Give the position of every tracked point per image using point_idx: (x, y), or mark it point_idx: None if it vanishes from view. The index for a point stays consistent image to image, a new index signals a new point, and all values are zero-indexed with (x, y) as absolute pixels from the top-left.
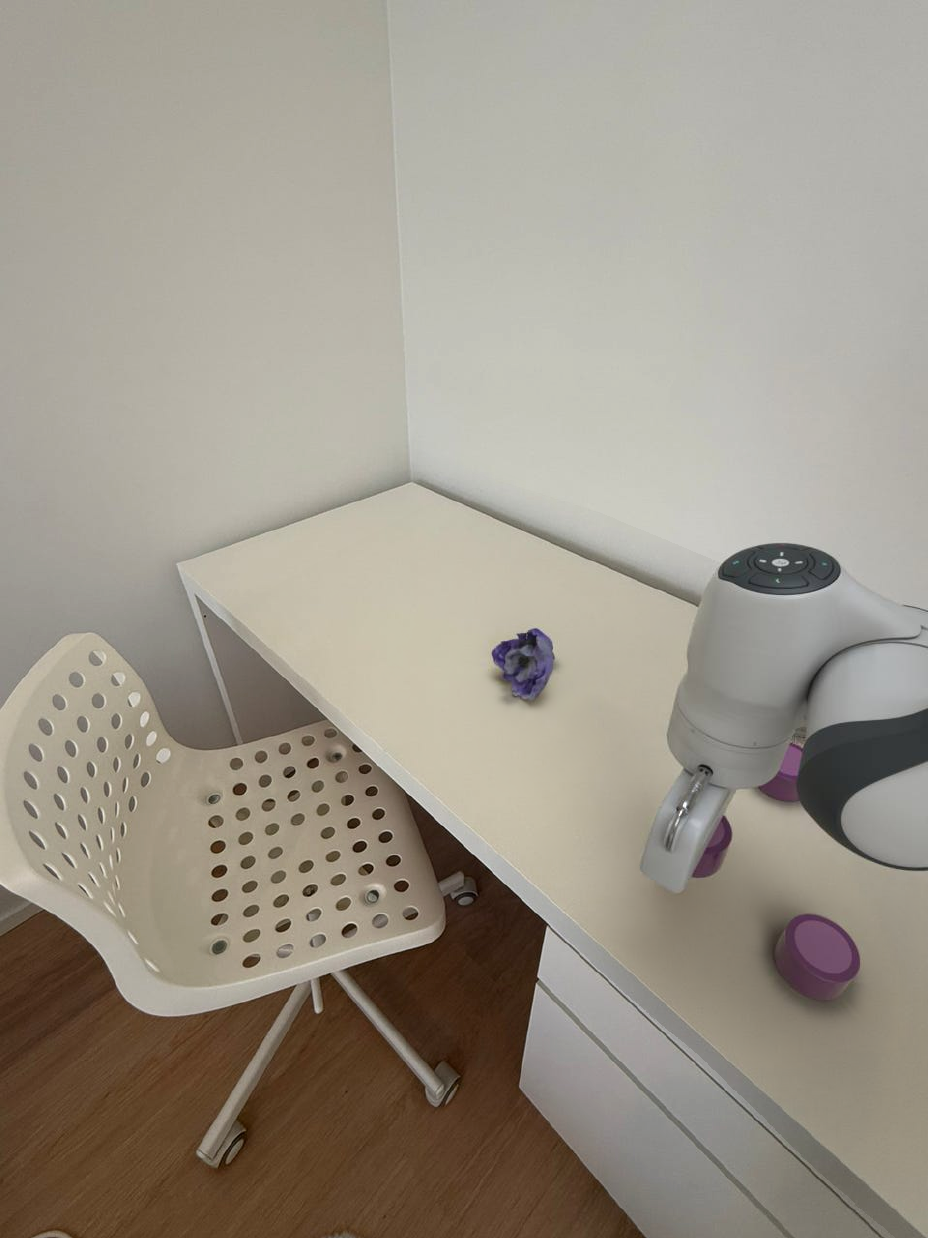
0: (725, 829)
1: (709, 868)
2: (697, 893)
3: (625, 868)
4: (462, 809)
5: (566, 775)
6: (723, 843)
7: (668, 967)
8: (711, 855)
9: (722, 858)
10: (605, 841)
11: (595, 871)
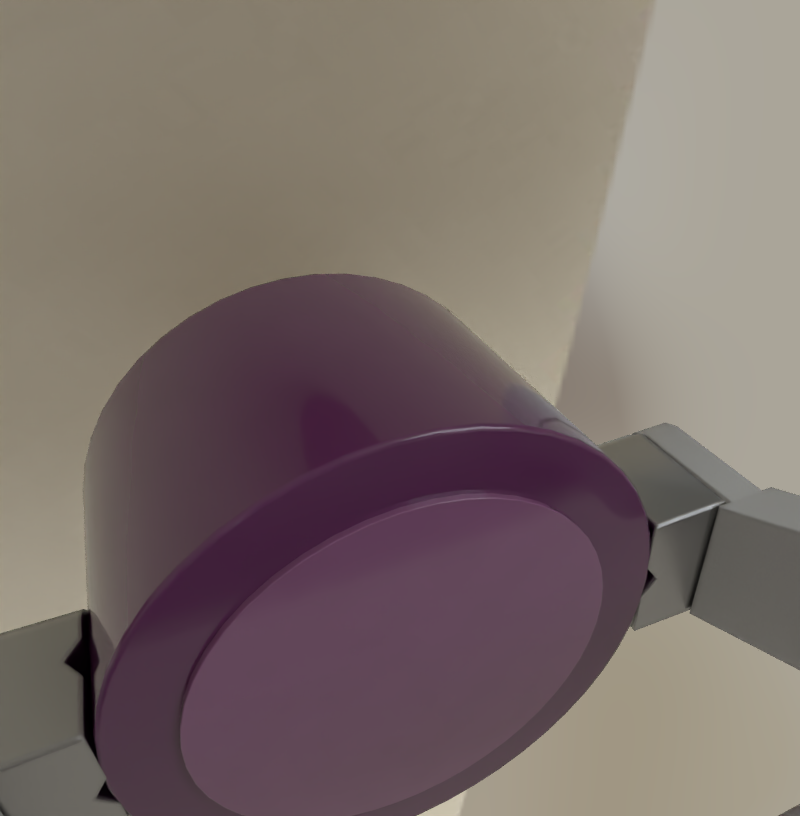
0: (275, 560)
1: (483, 345)
2: (171, 219)
3: None
4: None
5: None
6: (440, 471)
7: (540, 129)
8: (596, 448)
9: (406, 345)
10: None
11: None
